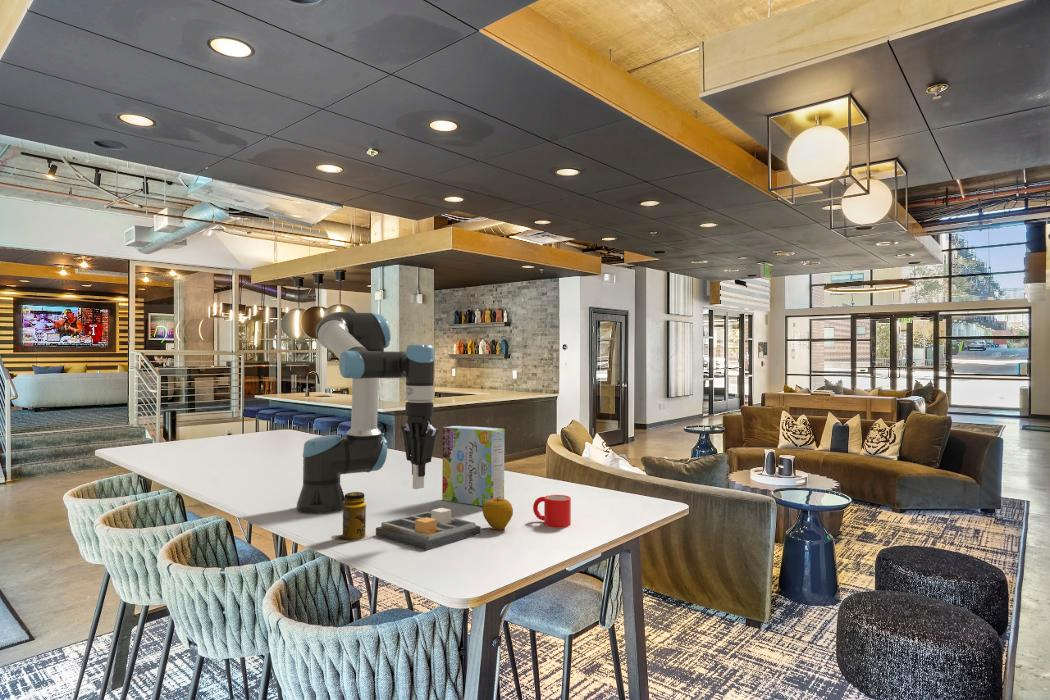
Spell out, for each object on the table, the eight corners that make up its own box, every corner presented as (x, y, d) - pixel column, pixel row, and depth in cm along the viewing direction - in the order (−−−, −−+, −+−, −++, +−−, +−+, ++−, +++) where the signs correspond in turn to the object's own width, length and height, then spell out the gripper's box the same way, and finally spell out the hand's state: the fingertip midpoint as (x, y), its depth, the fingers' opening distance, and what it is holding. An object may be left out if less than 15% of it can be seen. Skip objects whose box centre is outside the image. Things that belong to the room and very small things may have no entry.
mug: (537, 517, 186) (537, 492, 186) (574, 522, 181) (574, 496, 181) (527, 524, 179) (527, 497, 179) (565, 528, 174) (565, 501, 174)
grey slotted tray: (375, 535, 166) (375, 523, 166) (430, 520, 181) (430, 510, 181) (425, 550, 153) (425, 537, 153) (480, 533, 168) (480, 522, 168)
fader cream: (431, 522, 171) (431, 510, 171) (441, 519, 174) (441, 507, 174) (440, 525, 168) (440, 512, 168) (451, 522, 171) (451, 509, 171)
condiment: (370, 539, 163) (370, 494, 163) (338, 544, 158) (339, 498, 158) (361, 532, 169) (362, 489, 169) (331, 537, 164) (331, 493, 164)
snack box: (506, 503, 204) (506, 428, 205) (491, 508, 197) (491, 430, 198) (456, 496, 216) (456, 424, 217) (440, 500, 209) (441, 426, 209)
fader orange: (415, 533, 160) (415, 520, 160) (426, 530, 163) (426, 517, 163) (425, 536, 157) (425, 522, 157) (436, 532, 160) (436, 519, 161)
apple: (477, 526, 176) (477, 495, 176) (506, 523, 179) (506, 493, 179) (488, 534, 167) (488, 502, 168) (517, 531, 171) (517, 499, 171)
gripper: (393, 400, 164) (392, 486, 164) (424, 403, 156) (423, 494, 156) (414, 399, 170) (413, 482, 170) (446, 401, 162) (444, 489, 161)
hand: (418, 488), depth 163 cm, fingers closed
